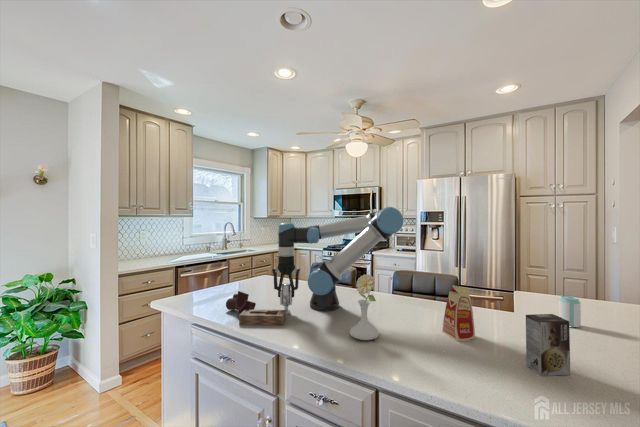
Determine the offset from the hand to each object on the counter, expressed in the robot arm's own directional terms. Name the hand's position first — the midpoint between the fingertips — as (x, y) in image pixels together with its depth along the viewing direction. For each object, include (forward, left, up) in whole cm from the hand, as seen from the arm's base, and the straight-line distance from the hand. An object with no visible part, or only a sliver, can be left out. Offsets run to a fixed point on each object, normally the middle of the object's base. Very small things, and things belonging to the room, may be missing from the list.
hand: (286, 303), depth 140 cm
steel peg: (0, 0, -5) cm, 5 cm away
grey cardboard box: (-88, +47, -5) cm, 100 cm away
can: (-124, +9, -5) cm, 124 cm away
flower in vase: (-35, +26, -5) cm, 44 cm away
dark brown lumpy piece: (+22, +1, -4) cm, 22 cm away
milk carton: (-72, +22, -5) cm, 75 cm away
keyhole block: (+9, +11, -5) cm, 15 cm away
